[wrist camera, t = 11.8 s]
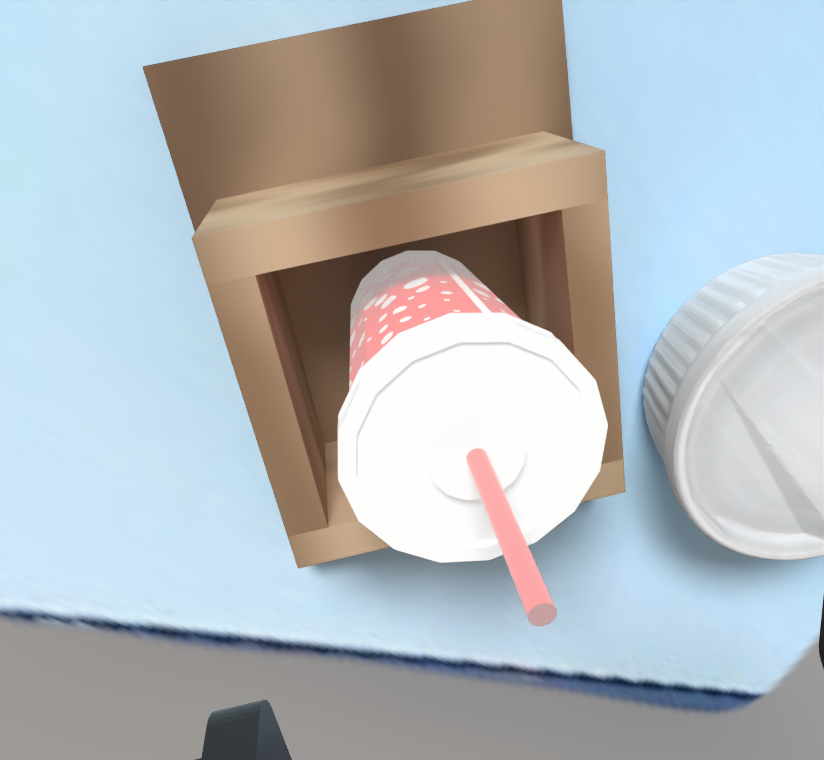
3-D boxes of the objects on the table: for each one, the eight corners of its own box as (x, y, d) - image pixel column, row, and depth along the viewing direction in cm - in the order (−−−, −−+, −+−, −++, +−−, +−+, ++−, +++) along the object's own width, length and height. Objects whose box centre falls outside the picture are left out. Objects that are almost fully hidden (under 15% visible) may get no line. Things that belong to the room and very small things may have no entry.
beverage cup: (311, 384, 24) (313, 742, 12) (346, 207, 22) (397, 414, 9) (479, 410, 26) (646, 759, 13) (529, 246, 23) (793, 475, 11)
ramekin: (571, 457, 29) (623, 536, 24) (693, 188, 25) (784, 220, 20) (794, 506, 32) (881, 586, 27) (936, 271, 28) (1068, 317, 23)
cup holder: (544, -13, 21) (633, -39, 16) (587, 476, 29) (657, 582, 23) (153, 66, 21) (92, 69, 15) (302, 543, 29) (300, 667, 23)
